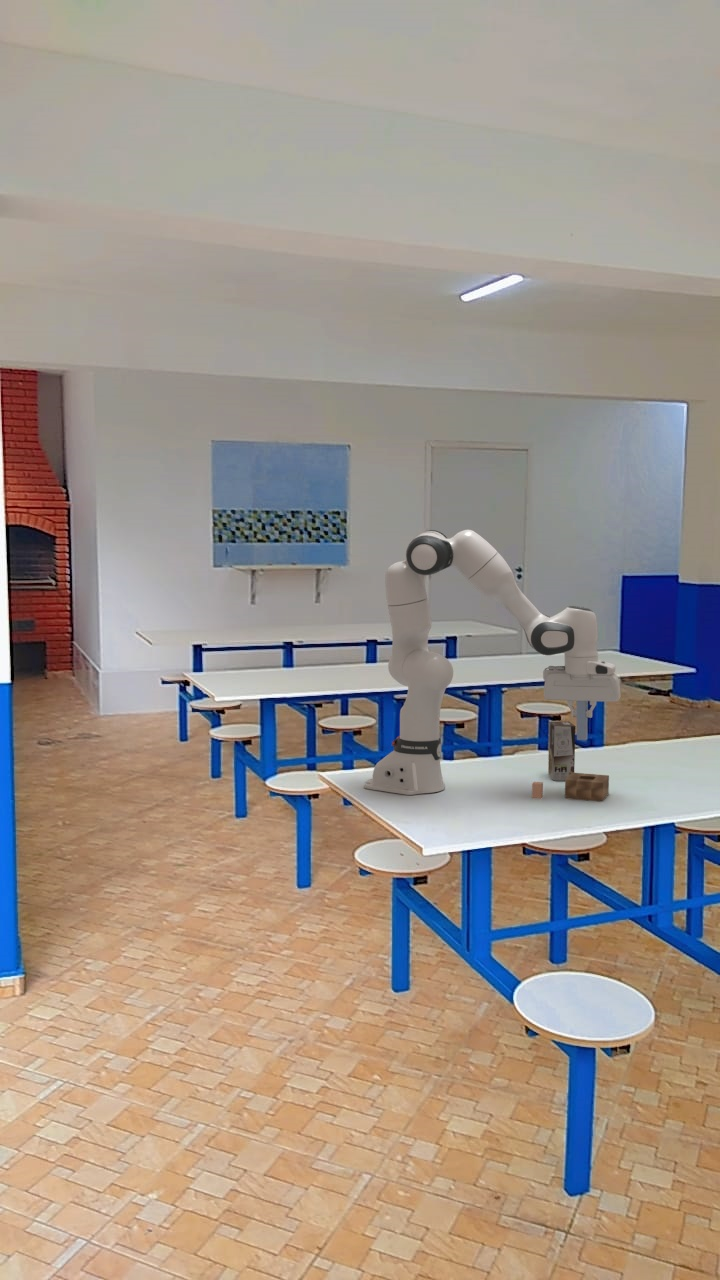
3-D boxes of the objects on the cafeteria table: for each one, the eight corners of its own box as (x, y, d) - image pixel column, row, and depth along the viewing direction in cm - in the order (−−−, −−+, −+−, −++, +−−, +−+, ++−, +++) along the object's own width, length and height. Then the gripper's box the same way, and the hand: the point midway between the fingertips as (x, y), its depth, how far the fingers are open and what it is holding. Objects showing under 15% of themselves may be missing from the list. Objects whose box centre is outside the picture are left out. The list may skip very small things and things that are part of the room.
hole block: (564, 798, 270) (565, 779, 270) (571, 790, 280) (572, 772, 279) (602, 801, 267) (603, 783, 266) (608, 793, 276) (608, 775, 275)
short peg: (532, 798, 271) (532, 783, 270) (534, 796, 273) (534, 781, 272) (540, 798, 270) (541, 784, 269) (542, 797, 272) (543, 782, 272)
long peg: (576, 739, 272) (576, 696, 271) (578, 738, 274) (577, 694, 273) (585, 740, 271) (585, 696, 270) (587, 738, 273) (586, 694, 272)
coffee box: (575, 781, 291) (576, 726, 290) (552, 781, 291) (553, 725, 290) (569, 774, 300) (570, 720, 299) (547, 774, 300) (548, 720, 299)
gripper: (540, 667, 272) (541, 717, 273) (617, 668, 264) (618, 720, 265) (545, 664, 278) (546, 713, 279) (621, 665, 270) (621, 716, 271)
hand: (582, 717), depth 272 cm, fingers closed on long peg, 2 cm apart
